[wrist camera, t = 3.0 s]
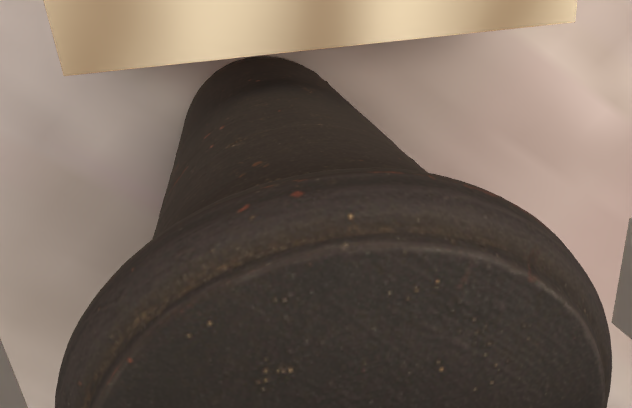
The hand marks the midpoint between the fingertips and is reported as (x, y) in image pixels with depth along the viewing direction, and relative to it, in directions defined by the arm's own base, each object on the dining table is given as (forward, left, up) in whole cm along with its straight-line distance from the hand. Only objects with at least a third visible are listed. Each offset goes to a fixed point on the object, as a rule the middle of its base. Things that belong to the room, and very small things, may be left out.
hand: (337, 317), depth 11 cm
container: (0, 0, -16) cm, 16 cm away
